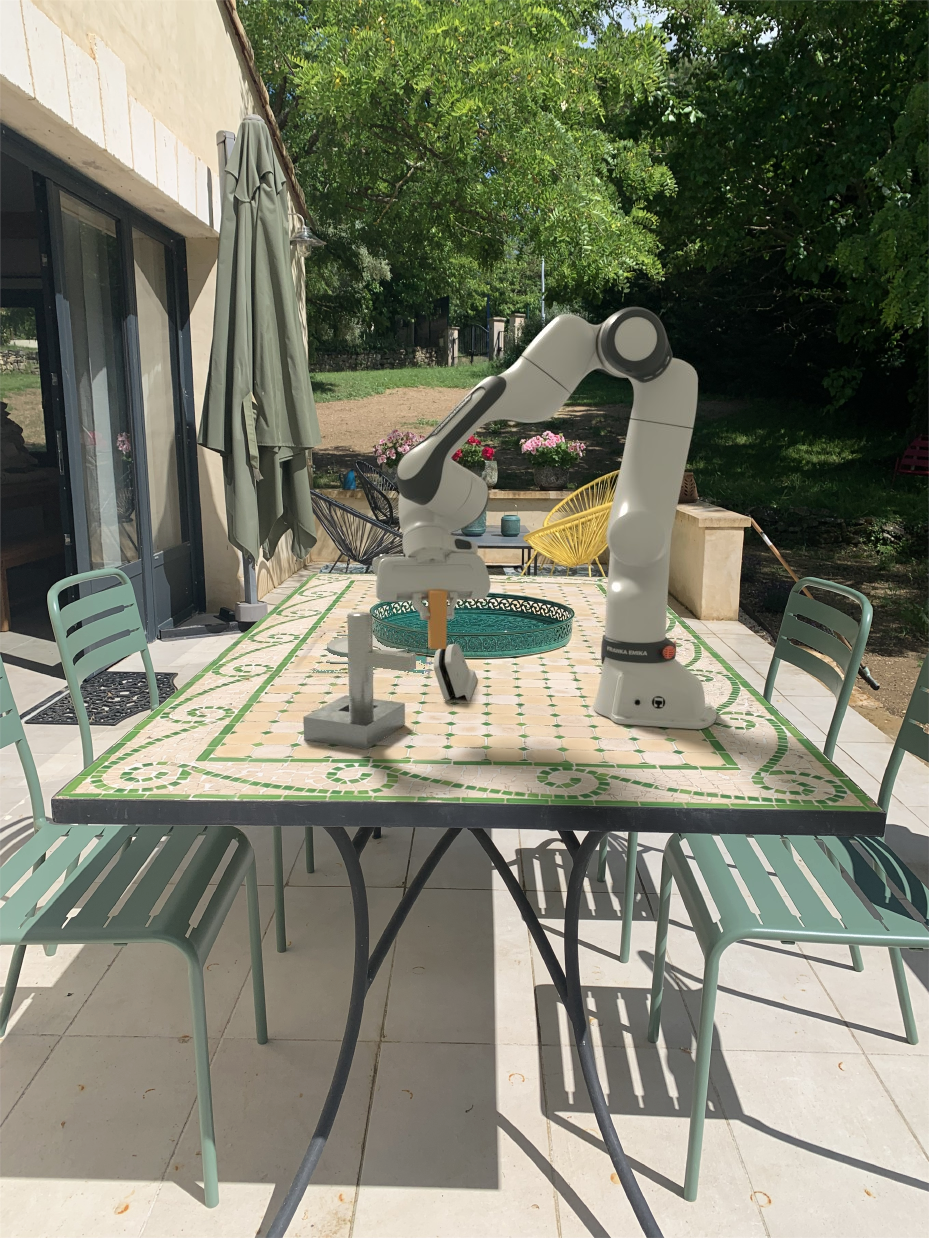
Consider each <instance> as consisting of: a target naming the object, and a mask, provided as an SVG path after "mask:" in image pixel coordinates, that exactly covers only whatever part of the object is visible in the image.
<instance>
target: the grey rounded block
mask: <svg viewBox="0 0 929 1238" xmlns="http://www.w3.org/2000/svg"><path fill="white" fill-rule="evenodd" d="M433 670H434V671H433V672H434V673H435V677H436V680H437V682H438V686H439V689H440V692H441V694H442V697H443V700H444V699H445V700H444V701H449V700H451V698H453V697H455V698H459V697H462V696H465V699H466V701H467V702H470V701H471V699H472V697H473V693H474V690H475V687H476V684H477V681H478V677H477V674H476V671H475V670H474V669H471V668H469V666H468V663H467V661H466V658H465V656H464V653H463V651H462V649H461V646H460V644H458V643H452V644H448V645H447V648H446V649H436V651H435V654H434V657H433Z"/></svg>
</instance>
